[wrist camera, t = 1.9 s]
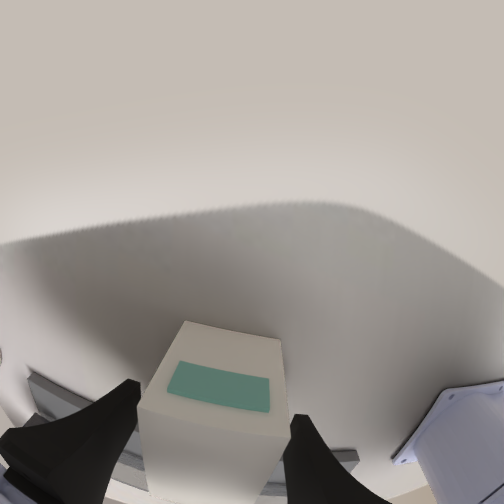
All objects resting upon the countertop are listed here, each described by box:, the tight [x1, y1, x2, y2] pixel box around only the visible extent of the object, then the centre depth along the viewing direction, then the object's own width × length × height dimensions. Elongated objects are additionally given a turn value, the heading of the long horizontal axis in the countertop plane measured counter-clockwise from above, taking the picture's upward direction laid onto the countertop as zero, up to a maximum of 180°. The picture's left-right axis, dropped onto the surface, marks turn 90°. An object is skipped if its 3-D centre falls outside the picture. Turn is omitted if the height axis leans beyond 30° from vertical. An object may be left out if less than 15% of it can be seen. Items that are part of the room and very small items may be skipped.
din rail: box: [23, 411, 287, 504], centre depth 13 cm, size 23×4×3 cm, turn 79°
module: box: [137, 320, 291, 504], centre depth 10 cm, size 4×7×6 cm, turn 169°
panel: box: [27, 372, 360, 492], centre depth 15 cm, size 24×10×1 cm, turn 79°
